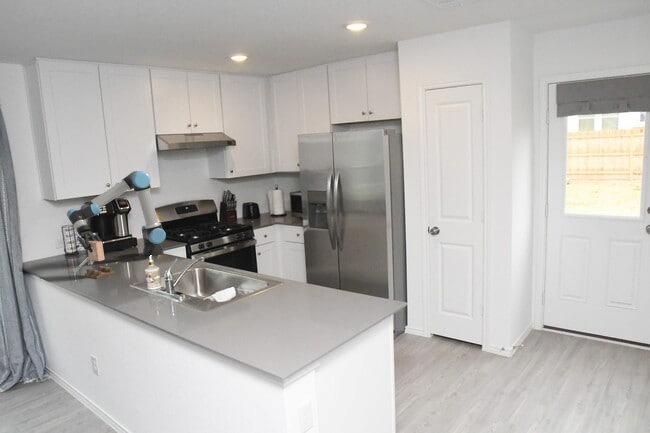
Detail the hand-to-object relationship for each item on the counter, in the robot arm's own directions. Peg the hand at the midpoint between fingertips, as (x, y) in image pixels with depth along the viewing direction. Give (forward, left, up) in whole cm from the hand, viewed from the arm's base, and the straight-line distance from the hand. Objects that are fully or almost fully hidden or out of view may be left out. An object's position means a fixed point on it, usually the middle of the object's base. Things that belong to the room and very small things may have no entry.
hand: (99, 254), depth 299 cm
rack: (0, -4, -14) cm, 15 cm away
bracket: (+1, -34, -15) cm, 37 cm away
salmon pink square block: (+1, -4, -4) cm, 5 cm away
